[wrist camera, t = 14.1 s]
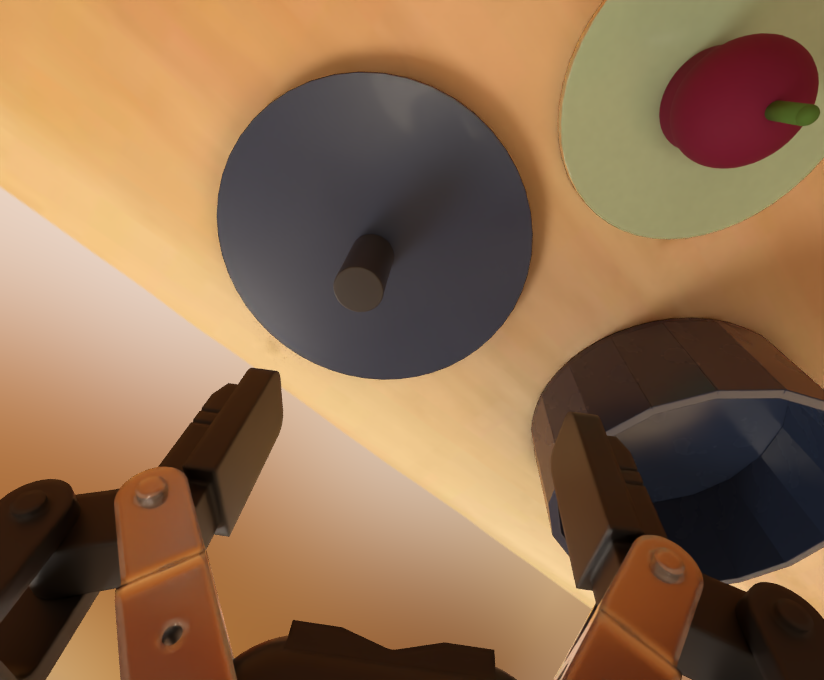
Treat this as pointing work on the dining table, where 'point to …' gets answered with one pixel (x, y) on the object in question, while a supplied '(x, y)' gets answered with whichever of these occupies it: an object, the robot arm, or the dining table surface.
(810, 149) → the plate
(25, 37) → the dining table surface
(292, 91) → the pan lid
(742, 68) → the beet
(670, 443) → the pan
